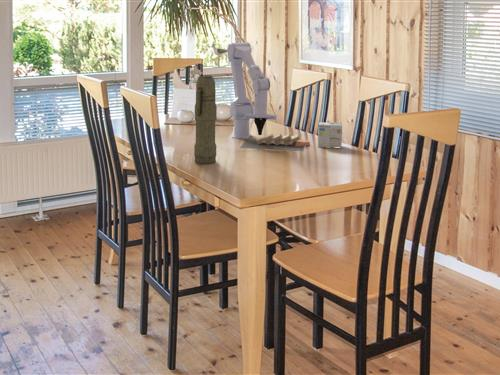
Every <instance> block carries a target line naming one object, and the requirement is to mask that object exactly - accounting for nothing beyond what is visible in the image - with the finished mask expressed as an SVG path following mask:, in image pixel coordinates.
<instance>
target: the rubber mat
mask: <svg viewBox="0 0 500 375" xmlns="http://www.w3.org/2000/svg"><path fill="white" fill-rule="evenodd" d="M257 140H258V139H245V140H244V142H243V143H242V144H241V146H240V147H239V148H240V149H253V150H254V149H255V150H270V151H271V150H274V151H290V152H292V151H294V152H304V150H305V146H294V145H292V144H289V145H287V146H285V144H284V142H283V143H281V144H279V145H276V144H275V142H273V143H271V144H269V145H267V144H266V142H264V143H261V144H259V145H258V143H257Z"/></svg>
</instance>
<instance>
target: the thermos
mask: <svg viewBox="0 0 500 375" xmlns="http://www.w3.org/2000/svg"><path fill="white" fill-rule="evenodd" d="M195 85H196V86H195V88H196V89H195V91H196V92H195V103H194V121H195V143H194V145H193V146H194V149H193V151H194V152H193V154H194V155H193V156H194V162H195V164H199V165H212V164H216V162H217V160H216V159H217V158H216V157H217V143H216V121H217V120H218V119H217V113H218V112H217V110H218V109H217V107H218V106H217V102H216V91H217V90H216V82H215V77H213V76H212V75H208V74H207V75H206V74H205V75H204V74H203V75H199V76H198V77H197V80H196V84H195Z"/></svg>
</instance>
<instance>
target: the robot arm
mask: <svg viewBox="0 0 500 375" xmlns="http://www.w3.org/2000/svg"><path fill="white" fill-rule="evenodd" d="M226 52H227V58H228V59H227V60H228V62H229V63H230V67H231V74H232V81H233V90H234V91H233V92H234V99H233V100H232V101H231V102H230V116H231V117H232V119H234V120H233V135H232V137H231V138H232V139H245V140H250V137H251V136H252V134H251V133H250V123H251V122H250V119H253V122H254V124H255V126H256V130H257V135H258V136H262V135H263V130H264V126H265V125H266V122H267V120H273V121H277V118H278V117H277V116H278V115H277V114H271V113H270V114H269V113H268V92H269V91H270V88H271V81H270V78H269V77H267V76H265V75H264V72H262V69H261V68H260V66H259V65H257V64H256V63H255V60H254V57H253V56H252V45H251V44H250V43H249V42H248V41H246V42H229V43H228V45H227V48H226ZM243 63H244V64H245V65H246V67H247V73H248V76H249V78H250V79H251V82H252V84H251V85H252V89H253V95H254V102H253V103H254V105H253V103H252V100H250V98H248V97H247V93H246V86H245V84H246V83H245V77H244V70H243V69H244V68H243Z"/></svg>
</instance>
